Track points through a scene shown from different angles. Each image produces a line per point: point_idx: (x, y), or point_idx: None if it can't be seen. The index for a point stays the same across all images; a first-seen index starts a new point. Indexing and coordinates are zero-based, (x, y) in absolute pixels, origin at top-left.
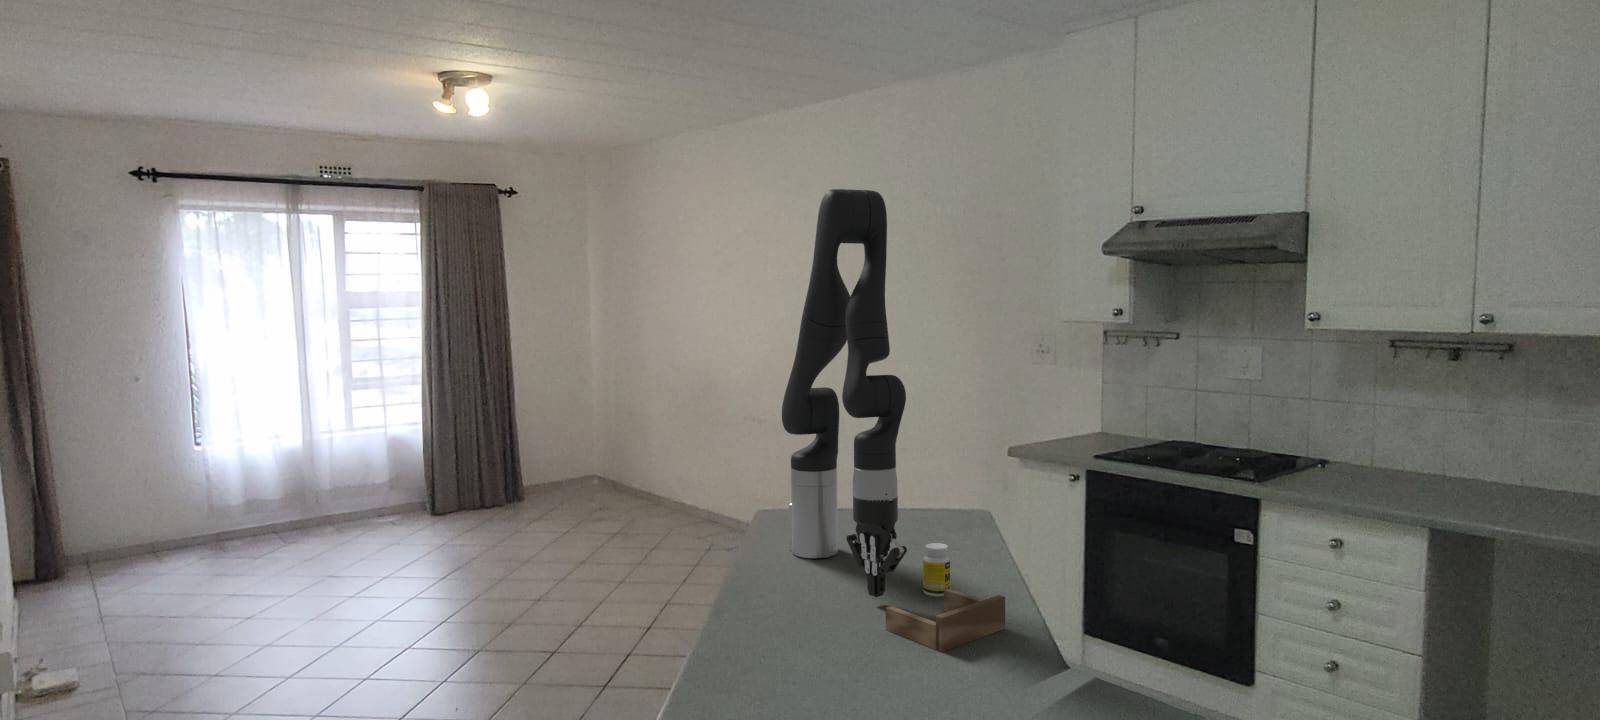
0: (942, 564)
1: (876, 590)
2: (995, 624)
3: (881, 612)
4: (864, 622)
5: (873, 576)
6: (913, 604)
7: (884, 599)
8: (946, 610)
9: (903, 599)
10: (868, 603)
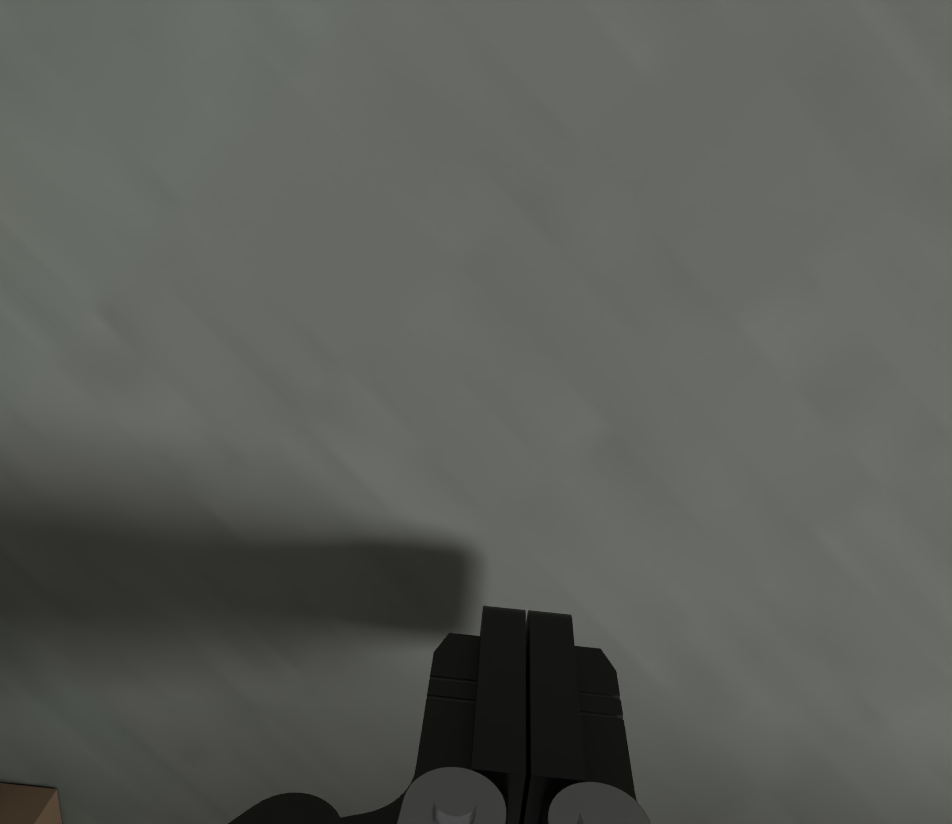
0: None
1: (472, 659)
2: None
3: (347, 483)
4: (254, 173)
5: (487, 763)
6: (307, 766)
7: None
8: (24, 795)
9: None
10: (595, 576)
